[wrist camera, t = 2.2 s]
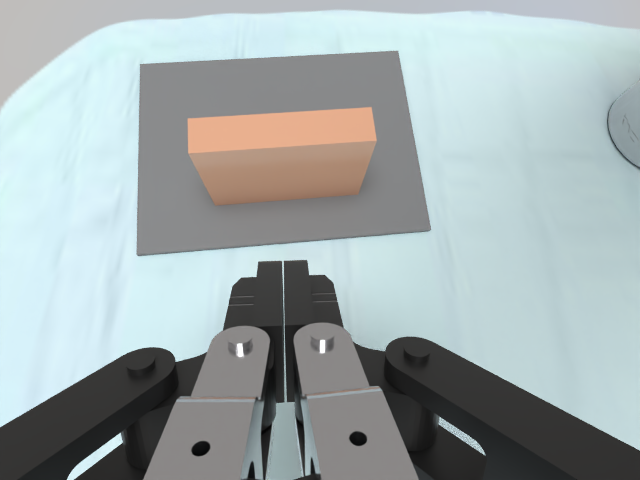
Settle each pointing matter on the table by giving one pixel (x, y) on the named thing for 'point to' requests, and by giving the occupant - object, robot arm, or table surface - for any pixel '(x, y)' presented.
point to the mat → (262, 98)
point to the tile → (282, 154)
